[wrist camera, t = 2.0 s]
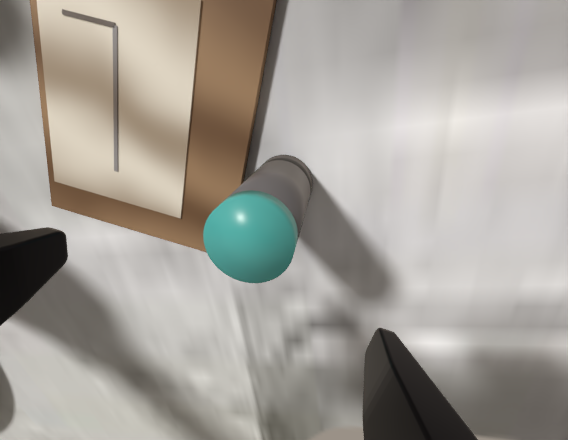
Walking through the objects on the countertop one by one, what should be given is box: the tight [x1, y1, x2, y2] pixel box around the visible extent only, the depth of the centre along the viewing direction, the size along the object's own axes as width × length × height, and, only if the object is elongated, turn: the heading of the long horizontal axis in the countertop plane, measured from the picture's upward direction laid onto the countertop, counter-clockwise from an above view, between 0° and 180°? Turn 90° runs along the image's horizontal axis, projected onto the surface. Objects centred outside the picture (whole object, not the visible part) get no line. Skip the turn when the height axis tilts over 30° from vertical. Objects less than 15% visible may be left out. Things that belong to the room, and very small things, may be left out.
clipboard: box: [30, 0, 277, 252], centre depth 17 cm, size 18×13×1 cm
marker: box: [203, 155, 313, 283], centre depth 14 cm, size 3×3×8 cm
